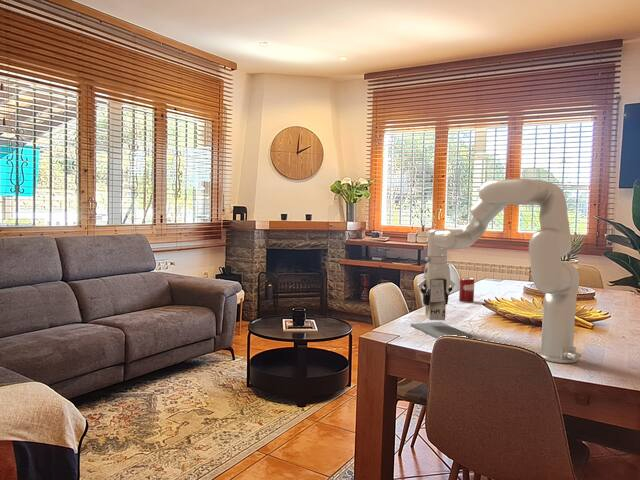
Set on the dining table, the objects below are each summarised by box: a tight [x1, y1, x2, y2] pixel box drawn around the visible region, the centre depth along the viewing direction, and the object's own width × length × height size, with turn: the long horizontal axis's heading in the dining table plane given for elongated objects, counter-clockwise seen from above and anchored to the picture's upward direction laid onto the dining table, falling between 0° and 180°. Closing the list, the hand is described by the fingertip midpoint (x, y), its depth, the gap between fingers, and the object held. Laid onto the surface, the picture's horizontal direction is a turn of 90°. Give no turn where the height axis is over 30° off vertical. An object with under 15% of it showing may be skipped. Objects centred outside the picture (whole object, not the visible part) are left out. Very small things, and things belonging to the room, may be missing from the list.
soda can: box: [458, 277, 475, 304], centre depth 258 cm, size 7×7×12 cm
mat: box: [410, 321, 473, 339], centre depth 196 cm, size 22×14×1 cm, turn 18°
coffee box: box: [424, 279, 447, 321], centre depth 199 cm, size 9×6×16 cm
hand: (435, 304), depth 199 cm, fingers closed on coffee box, 7 cm apart
